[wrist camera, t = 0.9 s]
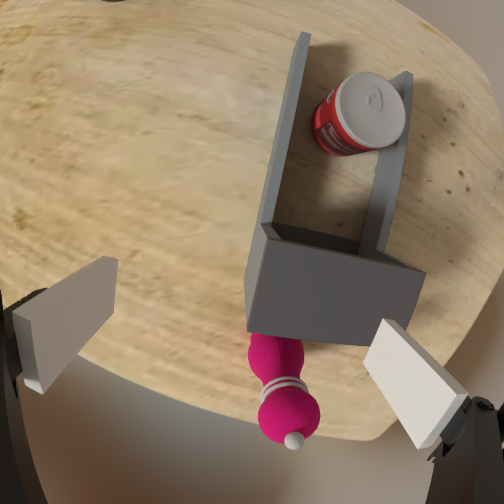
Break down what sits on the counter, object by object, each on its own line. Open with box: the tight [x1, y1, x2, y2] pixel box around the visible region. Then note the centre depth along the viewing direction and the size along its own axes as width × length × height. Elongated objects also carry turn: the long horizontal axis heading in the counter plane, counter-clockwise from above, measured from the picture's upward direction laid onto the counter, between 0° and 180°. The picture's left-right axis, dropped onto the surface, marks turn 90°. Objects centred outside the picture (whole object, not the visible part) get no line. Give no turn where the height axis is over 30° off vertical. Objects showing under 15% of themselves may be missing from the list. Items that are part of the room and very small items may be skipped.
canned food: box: [311, 72, 406, 156], centre depth 28 cm, size 8×8×11 cm
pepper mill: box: [248, 333, 320, 450], centre depth 30 cm, size 7×7×20 cm
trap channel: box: [244, 31, 426, 347], centre depth 28 cm, size 32×15×14 cm, turn 168°
